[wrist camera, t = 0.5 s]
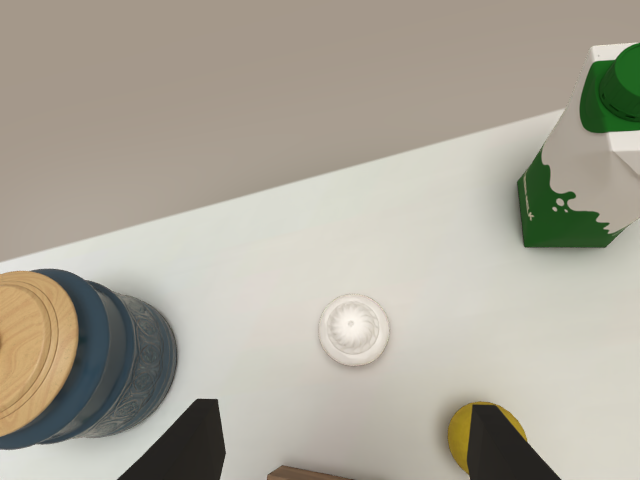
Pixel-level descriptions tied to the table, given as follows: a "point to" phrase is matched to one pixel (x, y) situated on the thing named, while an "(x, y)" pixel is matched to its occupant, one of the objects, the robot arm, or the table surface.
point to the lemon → (461, 430)
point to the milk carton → (589, 158)
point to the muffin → (354, 330)
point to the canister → (77, 359)
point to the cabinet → (299, 475)
